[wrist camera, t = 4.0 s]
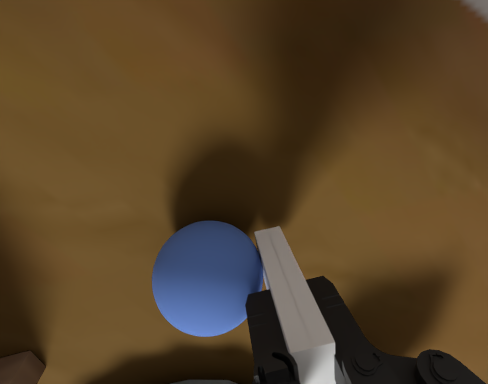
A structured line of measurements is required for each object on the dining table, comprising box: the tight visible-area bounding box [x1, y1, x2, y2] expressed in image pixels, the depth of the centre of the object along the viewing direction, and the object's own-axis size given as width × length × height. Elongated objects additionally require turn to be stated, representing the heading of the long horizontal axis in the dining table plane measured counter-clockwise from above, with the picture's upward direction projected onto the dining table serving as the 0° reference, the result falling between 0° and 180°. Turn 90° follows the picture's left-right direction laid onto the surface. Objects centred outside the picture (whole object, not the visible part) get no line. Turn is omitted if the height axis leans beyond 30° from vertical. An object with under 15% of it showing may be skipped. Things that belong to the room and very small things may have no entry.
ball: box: [152, 221, 263, 337], centre depth 13 cm, size 6×6×6 cm
